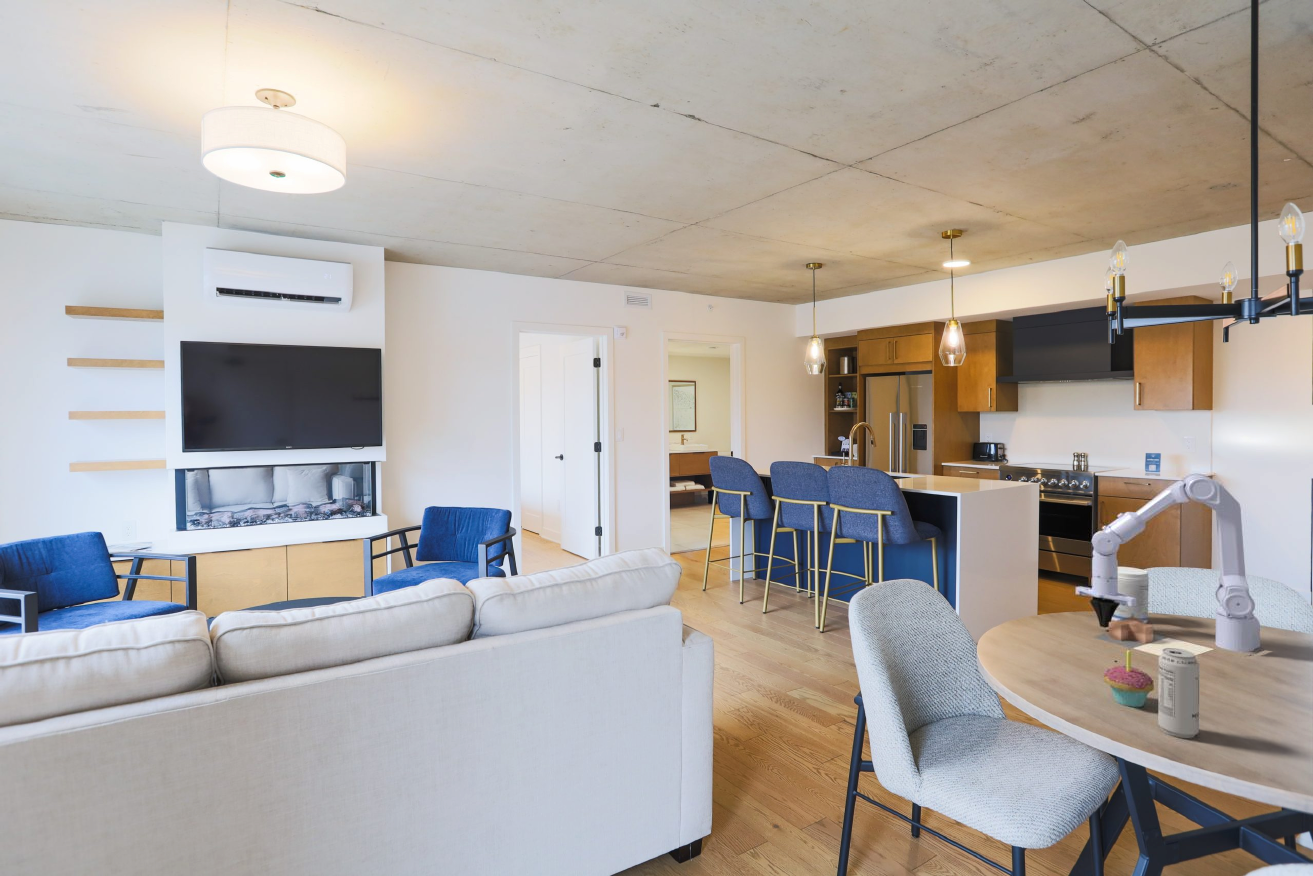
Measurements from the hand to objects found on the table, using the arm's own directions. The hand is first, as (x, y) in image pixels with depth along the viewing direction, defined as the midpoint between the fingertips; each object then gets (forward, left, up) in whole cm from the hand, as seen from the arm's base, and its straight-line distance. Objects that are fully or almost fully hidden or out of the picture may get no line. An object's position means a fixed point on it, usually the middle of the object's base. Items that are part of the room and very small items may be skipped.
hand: (1104, 626), depth 184 cm
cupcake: (+40, +28, -2) cm, 49 cm away
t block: (0, +7, -1) cm, 7 cm away
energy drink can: (+46, +40, -2) cm, 61 cm away
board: (0, +11, -2) cm, 12 cm away
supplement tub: (-16, -3, -2) cm, 16 cm away
